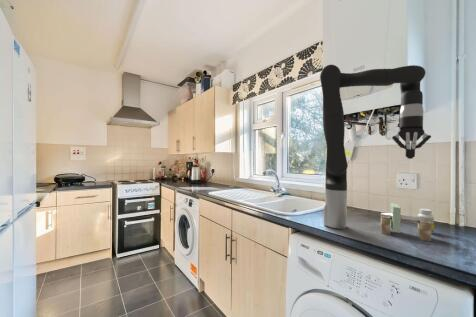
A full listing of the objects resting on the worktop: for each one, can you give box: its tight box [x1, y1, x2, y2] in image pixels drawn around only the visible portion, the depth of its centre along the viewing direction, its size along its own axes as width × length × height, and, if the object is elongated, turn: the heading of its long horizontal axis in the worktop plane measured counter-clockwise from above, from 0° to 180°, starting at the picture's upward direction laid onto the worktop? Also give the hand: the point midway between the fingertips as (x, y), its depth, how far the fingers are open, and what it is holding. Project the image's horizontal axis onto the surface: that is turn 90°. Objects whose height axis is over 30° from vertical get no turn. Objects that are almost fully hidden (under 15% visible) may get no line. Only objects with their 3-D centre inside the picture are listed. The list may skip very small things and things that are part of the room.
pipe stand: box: [380, 215, 432, 242], centre depth 89 cm, size 16×6×7 cm, turn 59°
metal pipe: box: [380, 212, 430, 224], centre depth 89 cm, size 16×3×3 cm, turn 59°
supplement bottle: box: [417, 208, 435, 235], centre depth 94 cm, size 5×5×10 cm
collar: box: [390, 202, 402, 233], centre depth 91 cm, size 2×10×10 cm, turn 149°
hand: (410, 158), depth 87 cm, fingers closed
